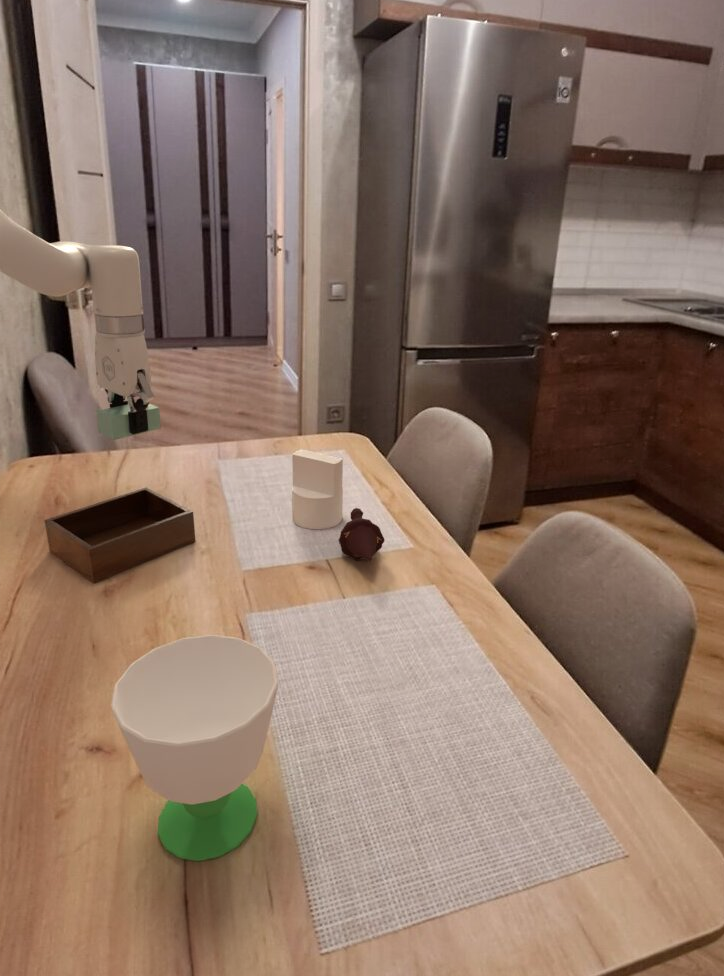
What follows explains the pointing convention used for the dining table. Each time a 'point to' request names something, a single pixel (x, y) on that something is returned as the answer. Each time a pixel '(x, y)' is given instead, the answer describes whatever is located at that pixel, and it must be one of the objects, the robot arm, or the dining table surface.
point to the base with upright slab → (316, 490)
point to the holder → (119, 533)
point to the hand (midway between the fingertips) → (129, 427)
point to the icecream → (360, 537)
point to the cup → (199, 736)
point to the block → (124, 421)
